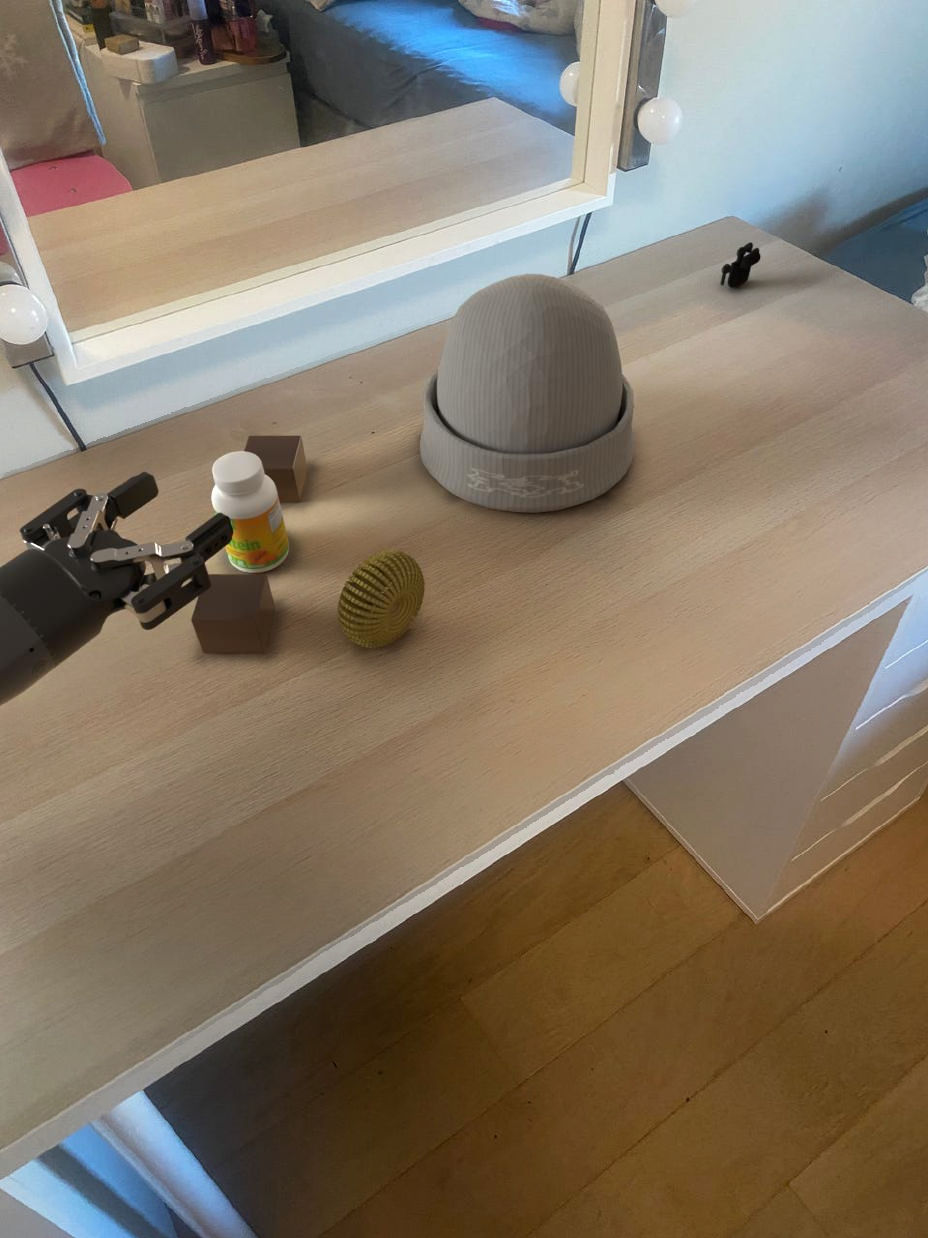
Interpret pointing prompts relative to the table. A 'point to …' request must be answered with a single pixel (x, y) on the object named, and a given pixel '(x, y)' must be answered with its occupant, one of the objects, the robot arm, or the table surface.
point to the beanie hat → (529, 399)
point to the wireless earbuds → (740, 266)
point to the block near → (234, 614)
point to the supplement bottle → (250, 512)
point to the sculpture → (381, 599)
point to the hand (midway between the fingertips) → (189, 501)
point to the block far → (281, 463)
